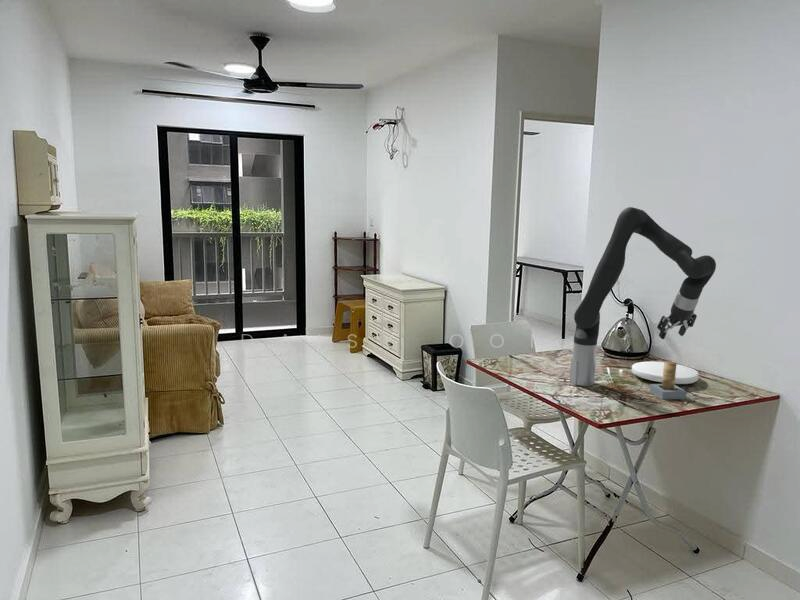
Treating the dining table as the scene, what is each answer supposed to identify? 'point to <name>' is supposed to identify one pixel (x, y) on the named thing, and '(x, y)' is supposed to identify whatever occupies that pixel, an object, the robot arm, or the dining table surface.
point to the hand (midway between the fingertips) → (670, 336)
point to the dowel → (669, 376)
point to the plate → (656, 372)
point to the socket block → (668, 392)
